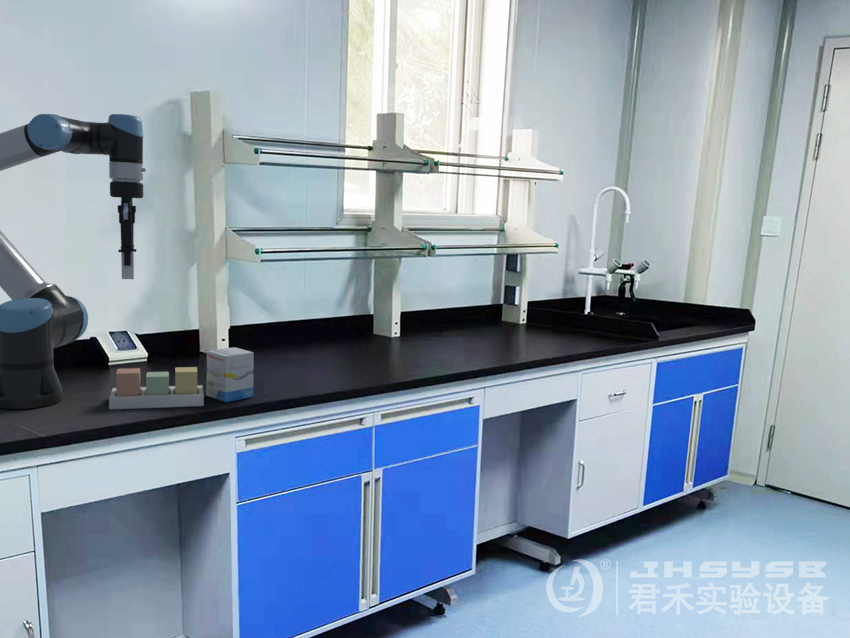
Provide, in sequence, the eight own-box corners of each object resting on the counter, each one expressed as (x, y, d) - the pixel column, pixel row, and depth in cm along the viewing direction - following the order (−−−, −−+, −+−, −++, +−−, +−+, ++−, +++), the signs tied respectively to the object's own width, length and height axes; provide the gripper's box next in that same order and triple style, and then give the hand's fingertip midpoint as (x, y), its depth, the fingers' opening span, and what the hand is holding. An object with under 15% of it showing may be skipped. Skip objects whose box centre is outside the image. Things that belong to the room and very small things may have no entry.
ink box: (254, 397, 188) (254, 351, 186) (225, 402, 182) (225, 356, 180) (234, 390, 194) (234, 346, 192) (205, 395, 187) (205, 350, 186)
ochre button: (175, 396, 178) (175, 372, 177) (175, 391, 183) (175, 367, 182) (197, 396, 180) (197, 371, 179) (196, 390, 185) (196, 367, 184)
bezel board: (109, 409, 172) (109, 398, 171) (112, 398, 181) (112, 387, 181) (203, 405, 178) (203, 395, 178) (202, 395, 188) (202, 385, 187)
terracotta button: (116, 398, 174) (116, 373, 173) (118, 393, 179) (117, 368, 178) (139, 397, 176) (139, 373, 175) (140, 392, 180) (140, 368, 180)
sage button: (146, 401, 176) (146, 377, 175) (147, 396, 181) (146, 372, 180) (168, 401, 178) (168, 376, 177) (168, 395, 183) (168, 371, 182)
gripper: (142, 181, 175) (143, 282, 178) (144, 182, 187) (145, 276, 191) (107, 180, 172) (109, 281, 176) (111, 180, 185) (113, 275, 188)
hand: (127, 278), depth 183 cm, fingers closed
